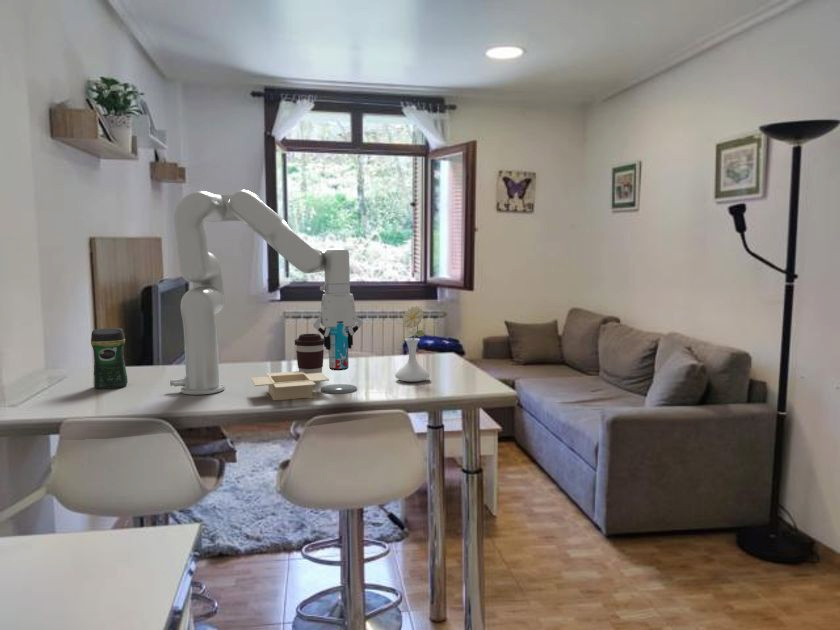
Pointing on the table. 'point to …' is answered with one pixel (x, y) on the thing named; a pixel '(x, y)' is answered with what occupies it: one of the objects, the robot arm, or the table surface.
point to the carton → (289, 384)
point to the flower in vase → (412, 348)
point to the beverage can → (338, 347)
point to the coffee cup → (310, 353)
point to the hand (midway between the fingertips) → (338, 348)
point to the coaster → (338, 389)
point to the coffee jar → (109, 358)
